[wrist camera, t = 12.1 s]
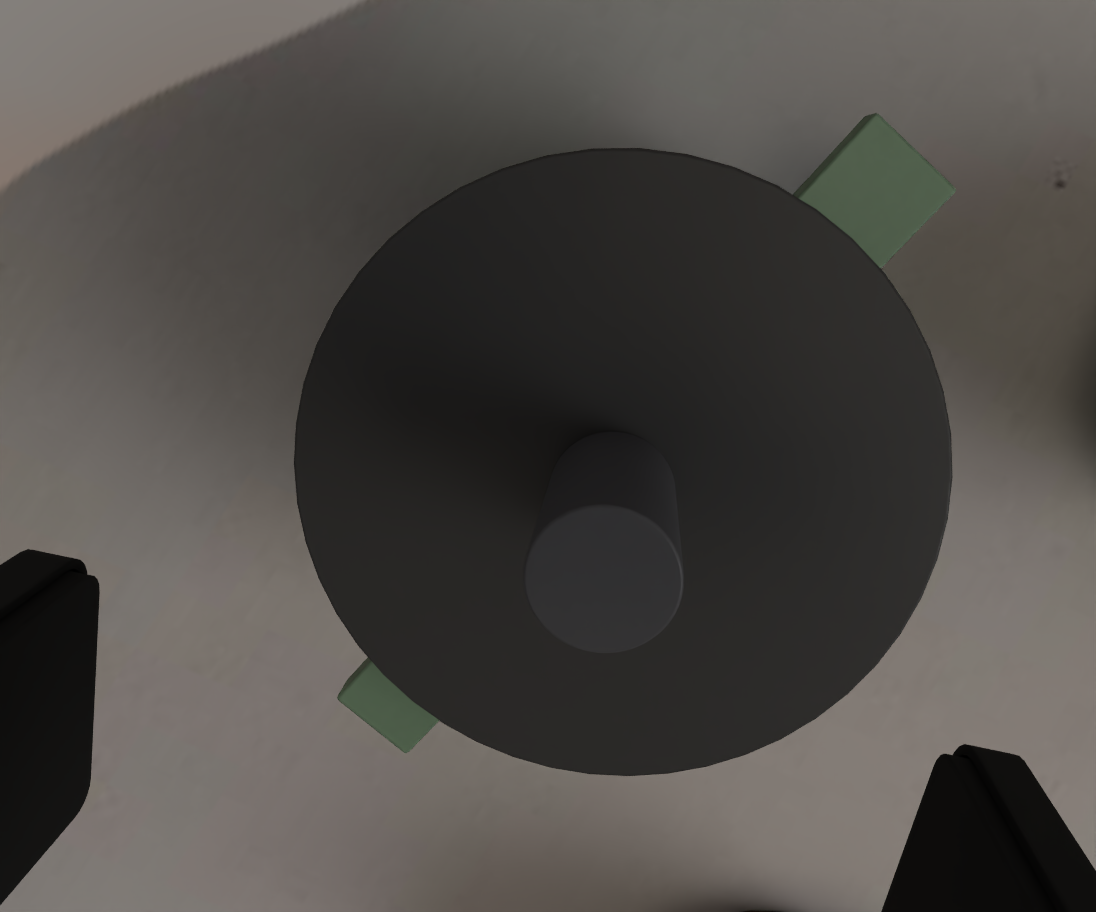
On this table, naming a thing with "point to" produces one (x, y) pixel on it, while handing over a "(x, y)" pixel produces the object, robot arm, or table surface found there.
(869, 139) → the cooker
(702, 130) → the table surface
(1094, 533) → the table surface
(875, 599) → the lid
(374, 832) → the table surface
